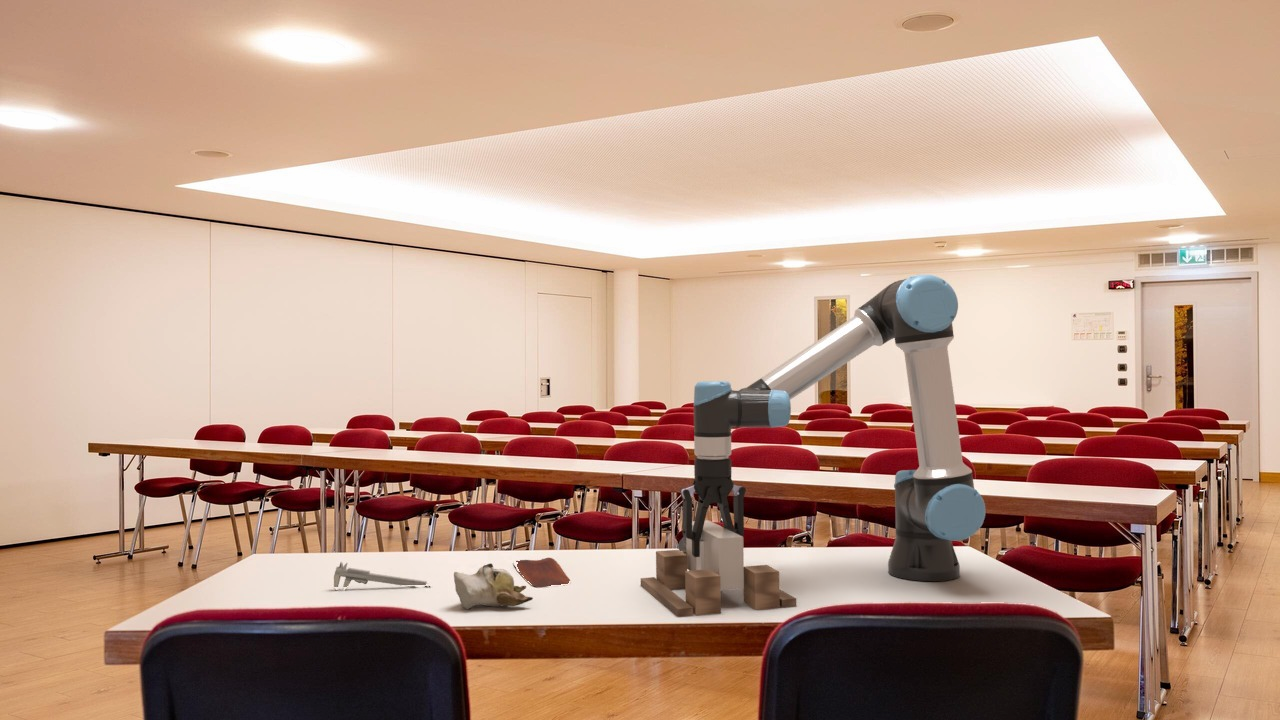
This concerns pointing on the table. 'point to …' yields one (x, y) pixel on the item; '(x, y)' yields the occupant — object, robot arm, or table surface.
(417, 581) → the caliper
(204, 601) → the table surface
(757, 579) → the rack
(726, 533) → the light grey rectangular block
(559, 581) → the wooden tablet
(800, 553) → the table surface
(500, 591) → the ceramic sculpture
